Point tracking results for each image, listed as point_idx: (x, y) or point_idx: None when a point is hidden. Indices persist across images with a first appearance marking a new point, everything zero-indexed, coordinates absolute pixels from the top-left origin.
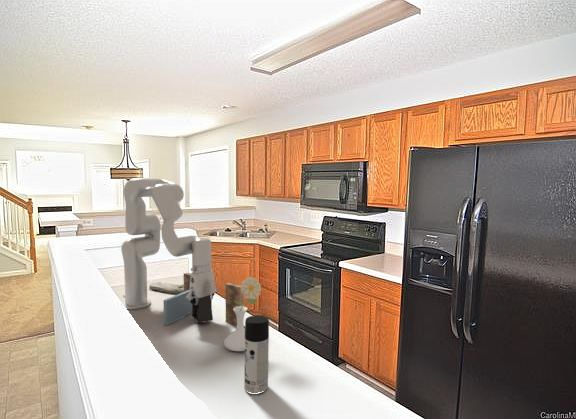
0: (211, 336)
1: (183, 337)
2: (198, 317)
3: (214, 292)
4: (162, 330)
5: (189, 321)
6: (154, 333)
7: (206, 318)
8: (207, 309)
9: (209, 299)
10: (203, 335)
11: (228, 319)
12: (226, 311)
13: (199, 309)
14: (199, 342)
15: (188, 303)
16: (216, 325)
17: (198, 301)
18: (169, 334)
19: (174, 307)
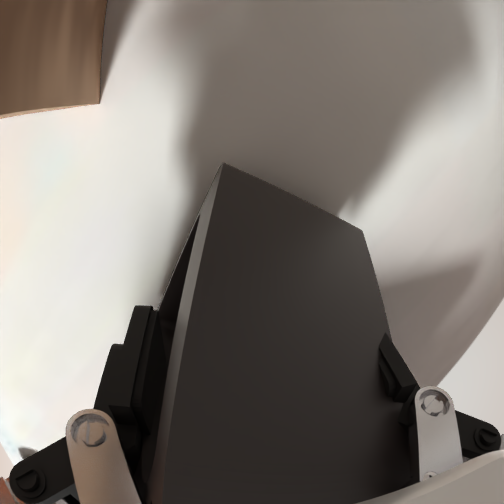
0: (409, 12)
1: (485, 182)
2: (369, 262)
3: (7, 485)
4: (440, 339)
5: None
6: (469, 334)
7: (290, 208)
8: (270, 278)
9: (195, 426)
10: (427, 76)
11: (88, 62)
12: (46, 91)
13: (368, 332)
14: (490, 49)
15: None
16: (219, 106)
17: (387, 440)
18: (472, 277)
19: None
